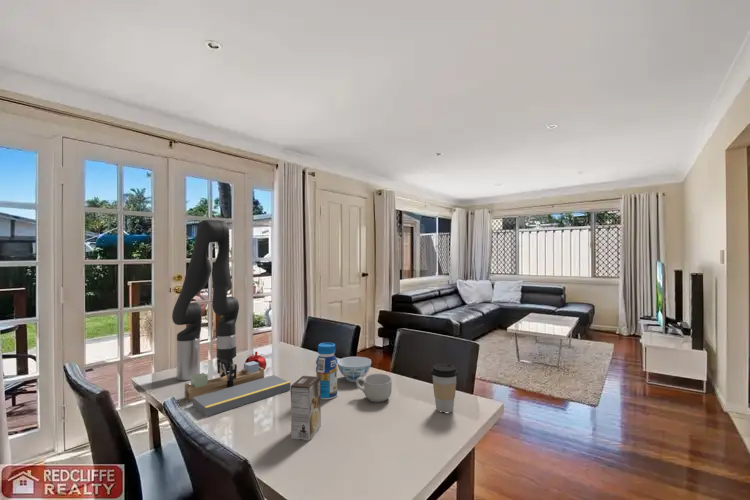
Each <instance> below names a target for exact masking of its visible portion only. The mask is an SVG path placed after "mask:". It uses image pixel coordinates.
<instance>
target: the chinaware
mask: <svg viewBox="0 0 750 500" xmlns="http://www.w3.org/2000/svg"><path fill="white" fill-rule="evenodd" d="M336 365H337V367H338V370H339V373H341V375H342V376H343V377H345V378H346V381H348V382H350V383H351V382H353V383H356V380H357V379H358V378H359V377H362V378H365V377H366V376H367V374H368V373H369V371H370V368H371V365H372V359H370V358H369V357H364V356H347V357H342V358H340V359H337V364H336ZM360 381H361V380H359V382H360Z"/></svg>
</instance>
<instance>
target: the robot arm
mask: <svg viewBox="0 0 750 500" xmlns="http://www.w3.org/2000/svg"><path fill="white" fill-rule="evenodd" d="M210 243H216V244H217V248H218V249H217V255H216V258H215V261H214V263H213V265H211V262H210V260H209V256H208V248H209V245H210ZM190 257H191V258H190V260H189V265H188V266H187V269H186V273H185V276H184V280H183V283H182V287H181V290H180V293H179V295H178V297H177V299H176V302H175V304H174V305H173V306H174V307H173V309H172V315H171V319H172V323H173V324H175V325H177V326H183V325H187V326H186V328H184V329H183V330H181V331H179V332H178V333H177V334H176V380H178V381H191V376H193V375H197V374H201V337H200V336H201V331H202V319H203V318H202V317H203V313H202V306H201V304H200V303H198V302H192V300H193V299H194V298H195V297H196V296H197V295H198V294H199V293H201V291H203V289H204V288H205V287H206V286H207V284H208V282H209V279H210V278H212V282H213V283H212V284H213V293H212V304H211V305H212V310H213V312H214V313H215V315H217V316H218V317H219V316H223V317H222V318H221V320H220V321H218V322H217V325H216V364H217V367H216V369H217V374H219V377H223V376H227V388H229V387H233V379H236V373H238V372H237V368H238V365H237V363H235V364H234V361H233V359H234V358H236V357H237V336H236V335H237V334H236V323H237V321H238V314H239V310H240V305H239V301H238V299H237V298H236V297H234V296H228V292H229V291H231V290H232V288H233V282H232V276H231V268H230V267H231V266H230V229H229V226H228V224H227V222H226V221H224V220H220V219H219V220H218V219H216V220H214V219H205V220H201V222H199V224H198V226H197V229H196V232H195V240H194V245H193V249H192V253H191V256H190ZM212 266H213V267H212ZM210 276H211V277H210Z"/></svg>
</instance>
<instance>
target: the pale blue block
mask: <svg viewBox="0 0 750 500" xmlns="http://www.w3.org/2000/svg"><path fill="white" fill-rule="evenodd" d="M243 369H244V370H246V371H248V372H250V374H252V373H255V372H259V363H257V362H255V361H252V362H248V363H245V362H243Z"/></svg>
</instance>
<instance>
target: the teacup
mask: <svg viewBox="0 0 750 500" xmlns="http://www.w3.org/2000/svg"><path fill="white" fill-rule="evenodd" d="M359 380H360V381H362V384H363V386H362V385H360V381H359ZM392 382H393V378H392V377H391V376H390V375H389V374H386V373H370V374H368V375H367V374H366V375H365V376H364V377H359V378H358V379H357V380H356V382H355V384H356V387H357V388H358V389H359V390H361V391H362V392H363V394H364V395H365V397H366V398H367V399H368V400H369V401H371V402H373V403H383V402H386V401H387V399H389V398H390V397H391V395H392V386H393V385H392Z"/></svg>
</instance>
